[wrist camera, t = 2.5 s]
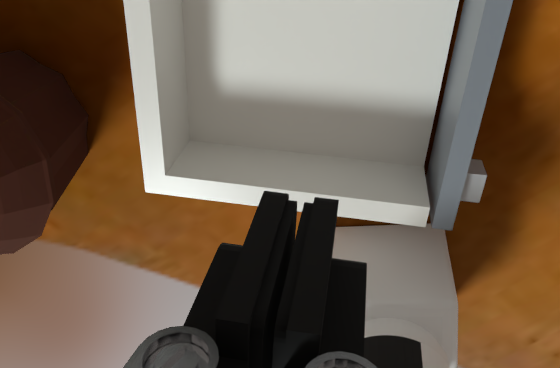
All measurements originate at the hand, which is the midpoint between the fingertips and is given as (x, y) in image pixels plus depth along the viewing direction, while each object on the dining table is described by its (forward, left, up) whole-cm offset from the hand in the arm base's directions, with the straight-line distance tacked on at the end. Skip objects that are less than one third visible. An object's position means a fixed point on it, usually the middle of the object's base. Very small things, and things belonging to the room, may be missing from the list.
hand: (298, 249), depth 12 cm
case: (-1, -2, -18) cm, 18 cm away
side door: (-2, +7, -17) cm, 19 cm away
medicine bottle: (+15, +4, -18) cm, 24 cm away
